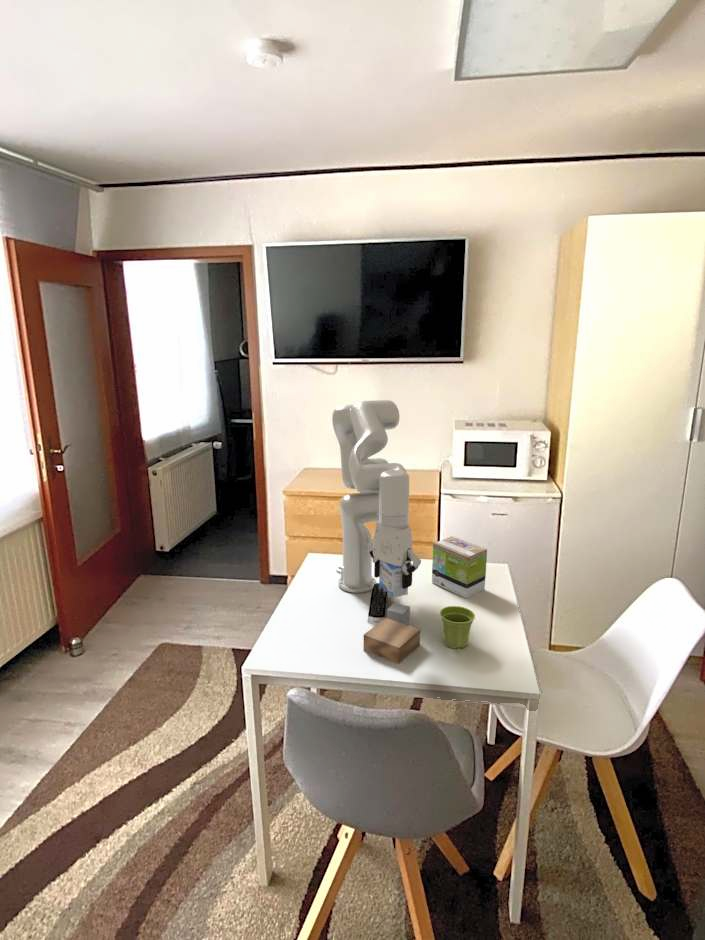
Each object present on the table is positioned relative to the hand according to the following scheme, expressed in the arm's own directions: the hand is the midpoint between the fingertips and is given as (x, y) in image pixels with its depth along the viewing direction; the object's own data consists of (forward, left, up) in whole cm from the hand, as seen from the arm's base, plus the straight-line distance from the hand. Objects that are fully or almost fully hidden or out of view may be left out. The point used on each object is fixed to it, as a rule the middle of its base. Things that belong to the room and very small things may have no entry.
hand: (392, 581), depth 150 cm
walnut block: (0, 0, -20) cm, 20 cm away
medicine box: (0, 0, -3) cm, 3 cm away
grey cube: (-7, +11, -20) cm, 24 cm away
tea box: (-8, +43, -20) cm, 48 cm away
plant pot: (+11, +14, -20) cm, 27 cm away
